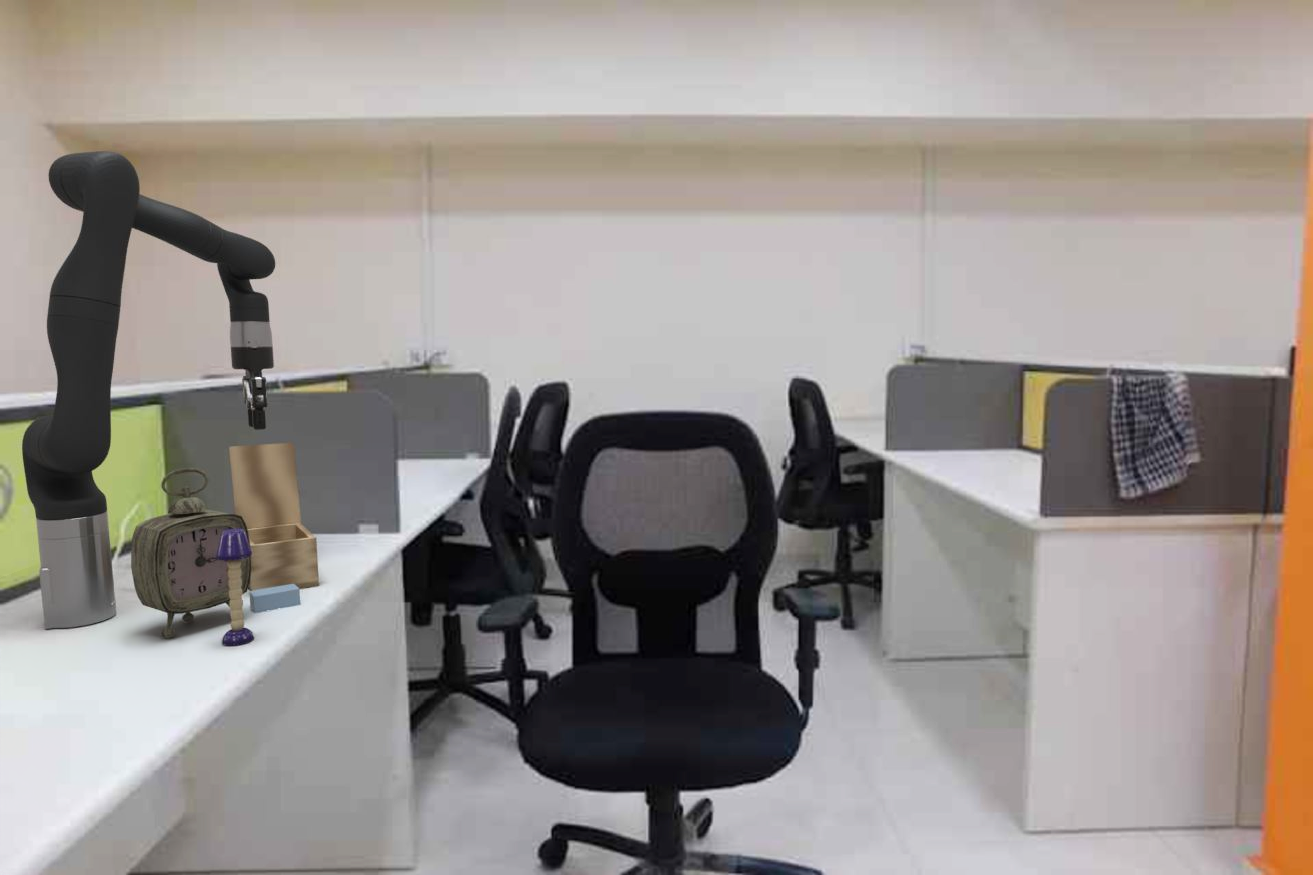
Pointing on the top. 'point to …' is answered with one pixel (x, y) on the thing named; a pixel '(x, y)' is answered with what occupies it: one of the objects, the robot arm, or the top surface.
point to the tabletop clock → (184, 557)
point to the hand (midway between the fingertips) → (257, 427)
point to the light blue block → (274, 598)
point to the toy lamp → (235, 582)
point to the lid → (265, 484)
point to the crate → (283, 557)
